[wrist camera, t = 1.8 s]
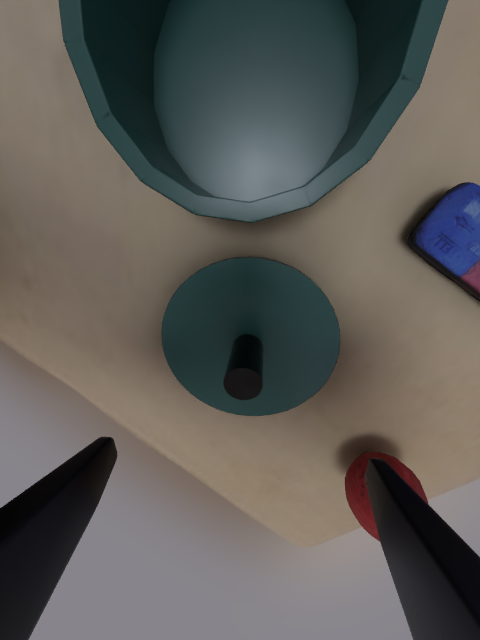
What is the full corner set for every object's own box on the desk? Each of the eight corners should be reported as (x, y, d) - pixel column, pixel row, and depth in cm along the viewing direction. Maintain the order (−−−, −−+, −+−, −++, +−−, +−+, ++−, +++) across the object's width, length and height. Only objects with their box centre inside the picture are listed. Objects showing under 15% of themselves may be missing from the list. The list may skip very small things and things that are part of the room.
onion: (334, 432, 23) (366, 534, 16) (402, 429, 22) (469, 536, 15) (335, 475, 25) (364, 582, 18) (397, 474, 24) (453, 586, 17)
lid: (197, 416, 24) (178, 471, 19) (140, 280, 19) (93, 305, 14) (345, 395, 21) (370, 453, 16) (323, 232, 16) (349, 241, 11)
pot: (186, 239, 17) (146, 252, 12) (105, -8, 13) (-29, -189, 7) (378, 184, 15) (449, 166, 9) (360, -141, 11) (478, -580, 5)
